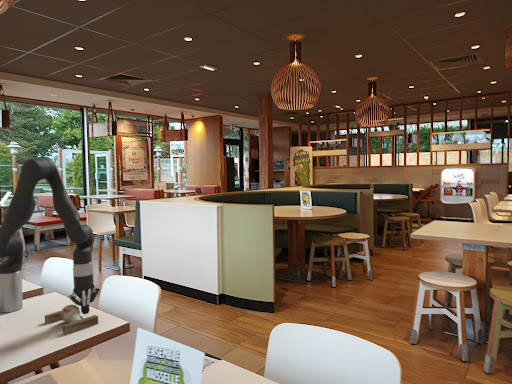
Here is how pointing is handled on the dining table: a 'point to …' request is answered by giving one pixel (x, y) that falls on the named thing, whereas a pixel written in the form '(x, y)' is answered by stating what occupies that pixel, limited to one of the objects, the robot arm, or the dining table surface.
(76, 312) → the mug
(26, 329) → the dining table surface
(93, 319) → the wooden guide rails
